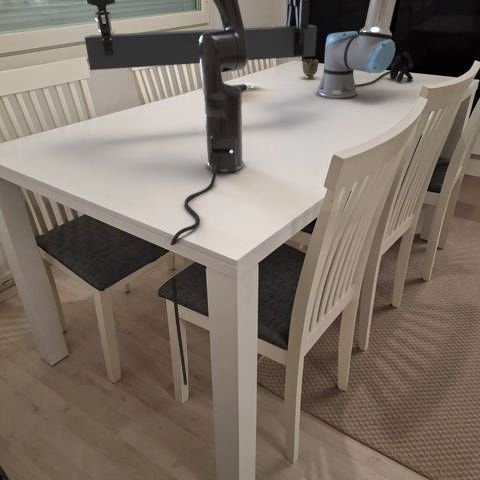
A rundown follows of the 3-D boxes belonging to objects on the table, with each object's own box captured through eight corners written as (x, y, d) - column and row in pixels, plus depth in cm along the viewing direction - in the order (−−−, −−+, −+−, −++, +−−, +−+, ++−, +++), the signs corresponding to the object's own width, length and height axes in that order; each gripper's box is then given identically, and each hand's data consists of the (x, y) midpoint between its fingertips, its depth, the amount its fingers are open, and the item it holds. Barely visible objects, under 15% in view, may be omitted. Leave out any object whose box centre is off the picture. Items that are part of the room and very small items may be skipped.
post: (90, 70, 124) (84, 37, 119) (90, 67, 128) (84, 35, 123) (315, 56, 138) (317, 26, 134) (309, 53, 142) (311, 24, 138)
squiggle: (400, 92, 202) (376, 71, 205) (417, 76, 202) (392, 56, 205) (405, 81, 191) (380, 59, 194) (423, 64, 191) (397, 42, 194)
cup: (298, 79, 205) (299, 60, 201) (304, 76, 210) (305, 58, 206) (314, 80, 202) (315, 62, 198) (319, 77, 207) (321, 59, 203)
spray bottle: (204, 97, 180) (243, 86, 196) (225, 101, 174) (263, 90, 190) (204, 90, 178) (243, 79, 194) (225, 94, 172) (263, 83, 188)
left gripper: (113, -16, 111) (124, 57, 120) (111, -18, 123) (121, 49, 132) (82, -15, 109) (95, 59, 118) (83, -17, 121) (95, 50, 130)
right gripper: (324, -35, 120) (318, 57, 132) (299, -35, 134) (295, 48, 147) (298, -34, 118) (294, 59, 131) (275, -35, 133) (274, 49, 145)
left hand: (109, 53), depth 125 cm, fingers closed on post, 4 cm apart
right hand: (295, 53), depth 139 cm, fingers closed on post, 5 cm apart
